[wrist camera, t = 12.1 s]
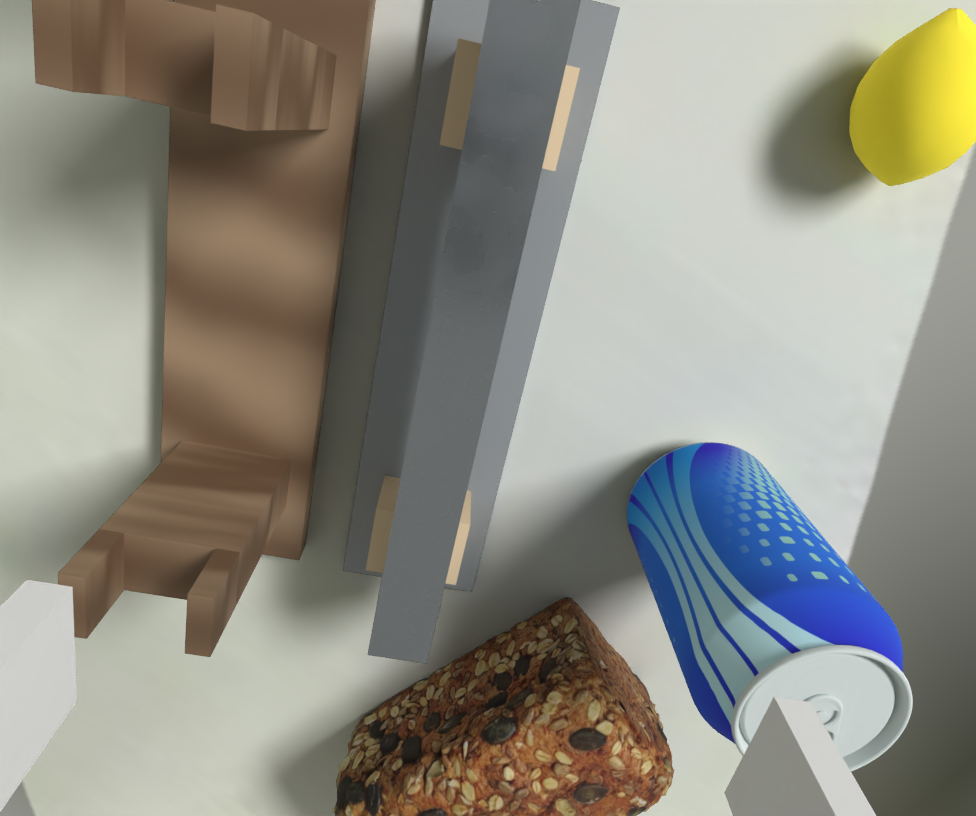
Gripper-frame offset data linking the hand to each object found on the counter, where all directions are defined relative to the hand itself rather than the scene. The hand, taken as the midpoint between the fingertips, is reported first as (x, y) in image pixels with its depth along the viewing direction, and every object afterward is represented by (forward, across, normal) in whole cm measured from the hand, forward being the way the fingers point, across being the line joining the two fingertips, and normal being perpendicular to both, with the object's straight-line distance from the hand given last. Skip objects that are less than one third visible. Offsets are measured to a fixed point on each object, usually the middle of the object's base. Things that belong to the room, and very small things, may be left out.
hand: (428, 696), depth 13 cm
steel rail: (+20, 0, 0) cm, 20 cm away
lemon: (+25, +18, +15) cm, 34 cm away
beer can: (+25, +16, -7) cm, 30 cm away
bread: (+25, +8, -25) cm, 36 cm away
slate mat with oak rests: (+24, 0, 0) cm, 24 cm away
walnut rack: (+24, -10, 0) cm, 26 cm away
